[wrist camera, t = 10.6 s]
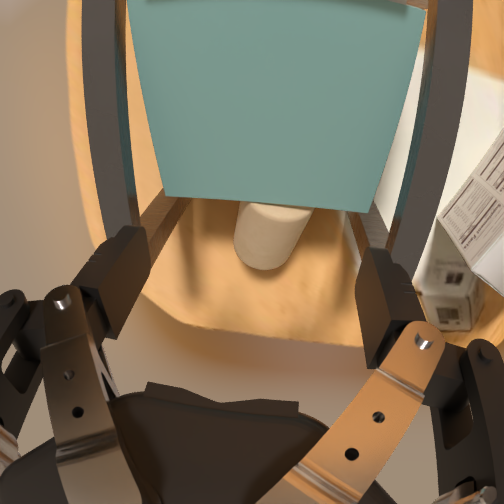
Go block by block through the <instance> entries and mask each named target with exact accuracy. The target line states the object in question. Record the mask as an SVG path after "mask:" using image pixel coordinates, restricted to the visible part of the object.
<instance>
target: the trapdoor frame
mask: <svg viewBox="0 0 504 504" xmlns="http://www.w3.org/2000/svg"><path fill="white" fill-rule="evenodd" d="M406 4H407V5H411V6H414V7H418V8H421V9H422V10H424V9H428V15H427V31H426V43H425V54H424V63H423V72H422V80H421V87H420V94H419V101H418V107H417V113H416V119H415V125H414V130H413V135H412V141H411V146H410V151H409V155H408V160H407V165H406V169H405V173H404V178H403V182H402V186H401V190H400V194H399V198H398V202H397V206H396V210H395V214H394V217H393V221H392V224H391V228H390V232H388V230H387V228H386V226H385V223H384V221H383V219H382V217H381V215H380V213H379V211H378V209H377V207H376V205H375V203H374V201H372V203H371V206H370V209H369V212H368V213H361V212H353V211H347V213H348V216H349V219H350V222H351V226H352V229H353V232H354V236H355V239H356V243H357V246H358V250H359V253H360V257H361V260H362V258H363V255H364V251H365V249H366V247H376V248H386V249H388V251H389V253H390V256H391V258H392V261H393V263H397V264H400V265H401V266H402V267H403V268H404V269H405V270H406V272H407V273H408V274H409V277H410V279H411V281H412V279H413V276H414V274H415V271H416V269H417V266H418V263H419V261H420V258H421V256H422V253H423V250H424V247H425V245H426V242H427V239H428V236H429V233H430V230H431V227H432V224H433V221H434V218H435V215H436V212H437V209H438V206H439V202H440V199H441V196H442V192H443V189H444V185H445V182H446V178H447V174H448V170H449V167H450V163H451V159H452V155H453V150H454V146H455V142H456V137H457V132H458V128H459V123H460V117H461V112H462V107H463V101H464V95H465V88H466V81H467V74H468V66H469V57H470V46H471V33H472V14H473V0H407V2H406ZM125 25H126V0H82V66H83V84H84V97H85V109H86V119H87V128H88V136H89V144H90V151H91V158H92V164H93V171H94V177H95V183H96V188H97V194H98V199H99V204H100V209H101V214H102V219H103V223H104V228H105V232H106V237H107V240H108V239H109V238H111V237H115V236H116V234H117V233H118V232H119V231H120V229H121V228H122V227H123V226H124V225H131V226H143V227H144V228H145V230H146V235H147V241H148V247H149V253H150V258H151V268H152V266H153V264H154V263H155V261H156V259H157V257H158V255H159V254H160V252H161V250H162V248H163V247H164V245H165V243H166V241H167V240H168V238H169V236H170V234H171V233H172V231H173V229H174V227H175V226H176V224H177V222H178V221H179V219H180V217H181V215H182V214H183V212H184V210H185V209H186V207H187V205H188V204H189V202H190V200H191V199H192V198H191V197H172V196H166V195H165V191H164V188H163V189H162V190H161V191H160V192H159V194H158V195H157V196H156V197H155V199H154V200H153V201H152V202H151V204H150V205H149V206H148V207H147V209H146V210H145V211H144V212H143V214H142V215H141V216H140V214H139V208H138V201H137V193H136V186H135V178H134V169H133V160H132V151H131V140H130V129H129V116H128V101H127V82H126V45H125Z"/></svg>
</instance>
